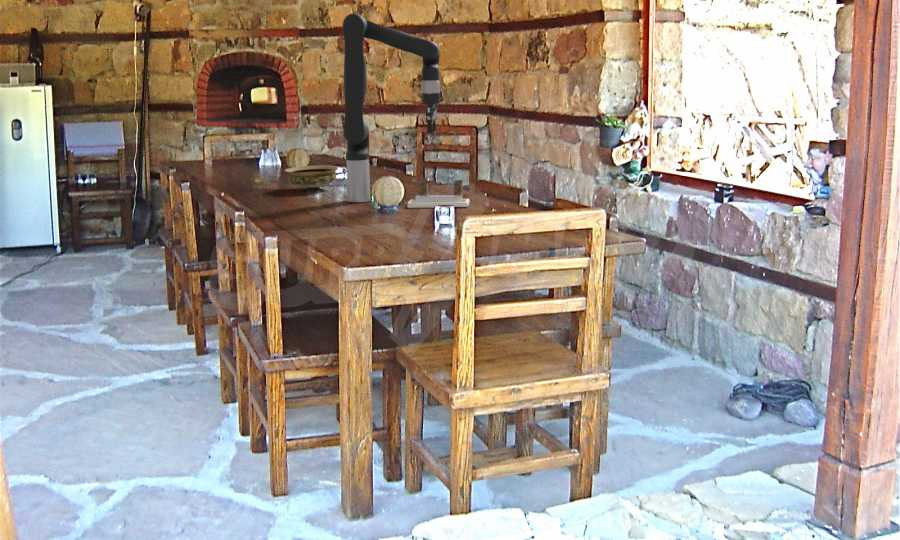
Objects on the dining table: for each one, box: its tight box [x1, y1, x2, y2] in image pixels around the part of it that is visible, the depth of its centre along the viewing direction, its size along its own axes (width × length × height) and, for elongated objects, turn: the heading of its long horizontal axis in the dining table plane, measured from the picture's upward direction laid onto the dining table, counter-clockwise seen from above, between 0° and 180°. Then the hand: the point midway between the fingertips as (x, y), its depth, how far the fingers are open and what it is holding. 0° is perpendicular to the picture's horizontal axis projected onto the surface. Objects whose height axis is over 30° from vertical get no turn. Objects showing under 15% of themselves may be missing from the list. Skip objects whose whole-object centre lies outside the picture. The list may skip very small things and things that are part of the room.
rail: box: [415, 194, 462, 203], centre depth 385 cm, size 18×4×4 cm, turn 84°
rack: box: [418, 179, 464, 199], centre depth 394 cm, size 20×6×9 cm, turn 84°
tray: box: [407, 198, 471, 209], centre depth 385 cm, size 24×10×2 cm, turn 84°
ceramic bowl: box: [284, 164, 339, 192], centre depth 439 cm, size 30×24×10 cm
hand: (431, 132), depth 396 cm, fingers open, 8 cm apart
